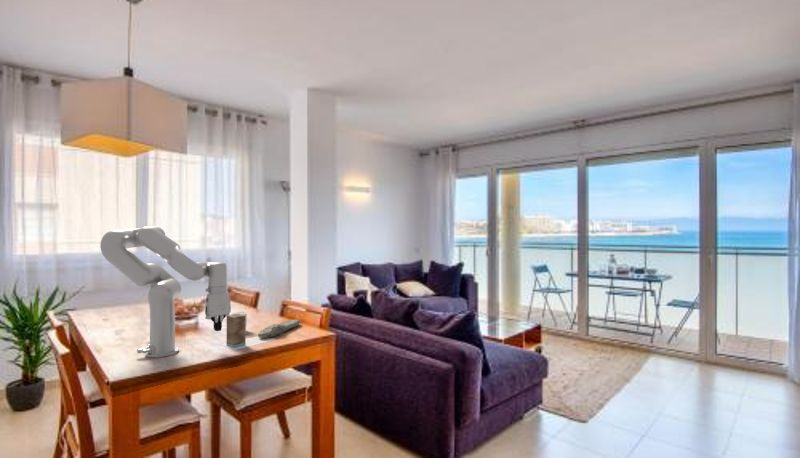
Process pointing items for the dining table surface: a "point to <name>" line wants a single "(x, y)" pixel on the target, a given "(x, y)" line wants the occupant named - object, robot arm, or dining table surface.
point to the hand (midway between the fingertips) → (217, 330)
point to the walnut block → (236, 330)
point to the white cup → (242, 314)
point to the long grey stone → (278, 328)
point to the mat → (252, 342)
